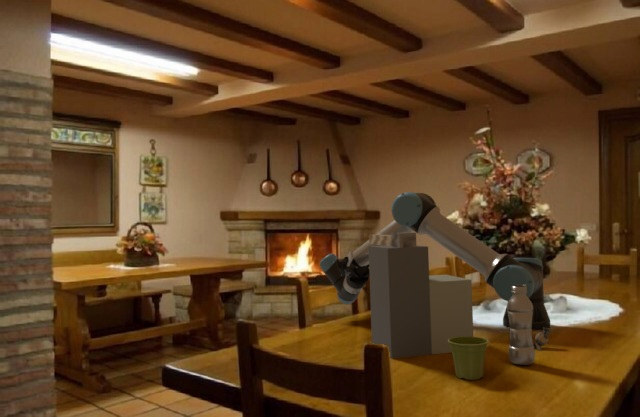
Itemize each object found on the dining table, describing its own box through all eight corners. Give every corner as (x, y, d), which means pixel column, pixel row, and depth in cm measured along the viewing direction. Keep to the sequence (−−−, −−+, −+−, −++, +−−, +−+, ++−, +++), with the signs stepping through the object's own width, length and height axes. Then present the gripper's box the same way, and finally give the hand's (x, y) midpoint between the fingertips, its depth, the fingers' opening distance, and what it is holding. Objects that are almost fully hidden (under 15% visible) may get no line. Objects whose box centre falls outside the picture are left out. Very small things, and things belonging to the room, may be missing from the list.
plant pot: (443, 372, 135) (442, 337, 135) (481, 370, 135) (479, 335, 136) (456, 383, 125) (455, 345, 125) (496, 381, 126) (494, 343, 126)
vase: (545, 345, 159) (545, 324, 159) (556, 351, 154) (557, 329, 153) (528, 346, 158) (528, 325, 158) (539, 352, 153) (539, 331, 152)
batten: (366, 244, 178) (366, 231, 178) (381, 243, 179) (380, 231, 179) (399, 247, 151) (399, 233, 151) (416, 247, 152) (415, 232, 152)
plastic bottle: (535, 361, 142) (532, 284, 142) (536, 368, 135) (533, 287, 136) (508, 360, 144) (505, 284, 144) (508, 367, 137) (505, 287, 138)
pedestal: (371, 345, 165) (368, 246, 165) (447, 338, 171) (444, 242, 172) (391, 358, 149) (387, 248, 150) (473, 350, 155) (470, 244, 156)
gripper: (390, 287, 199) (409, 261, 181) (324, 291, 193) (337, 265, 176) (386, 268, 203) (404, 241, 185) (320, 272, 197) (333, 244, 179)
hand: (371, 252), depth 180 cm, fingers open, 13 cm apart
